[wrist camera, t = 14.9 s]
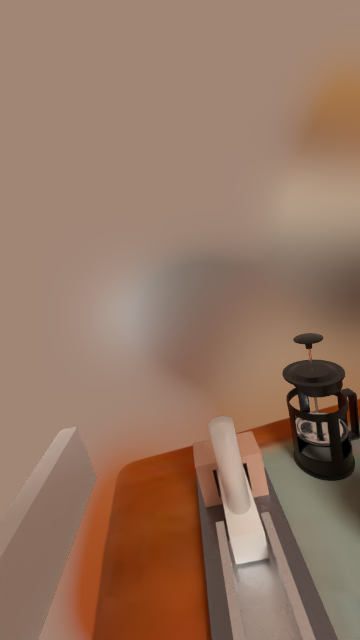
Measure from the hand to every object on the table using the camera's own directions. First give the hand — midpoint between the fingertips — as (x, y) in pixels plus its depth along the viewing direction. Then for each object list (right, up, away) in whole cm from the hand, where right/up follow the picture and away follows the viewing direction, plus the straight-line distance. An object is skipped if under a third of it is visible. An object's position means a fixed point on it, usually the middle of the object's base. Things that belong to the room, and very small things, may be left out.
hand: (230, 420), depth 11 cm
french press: (+24, -20, +35) cm, 46 cm away
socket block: (+7, -23, +31) cm, 40 cm away
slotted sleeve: (+7, -27, +23) cm, 36 cm away
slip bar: (+6, -23, +25) cm, 34 cm away
